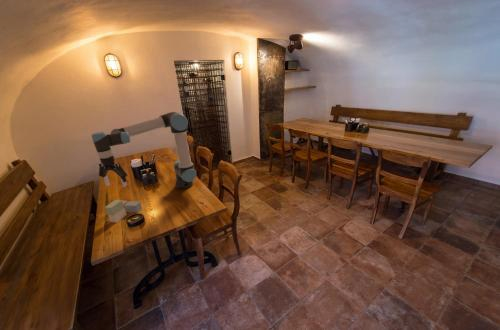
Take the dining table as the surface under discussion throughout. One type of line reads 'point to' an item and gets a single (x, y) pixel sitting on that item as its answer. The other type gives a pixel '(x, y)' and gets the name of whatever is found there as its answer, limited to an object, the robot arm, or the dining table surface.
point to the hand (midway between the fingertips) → (116, 185)
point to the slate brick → (133, 207)
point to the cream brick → (117, 216)
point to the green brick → (114, 207)
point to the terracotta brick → (124, 203)
